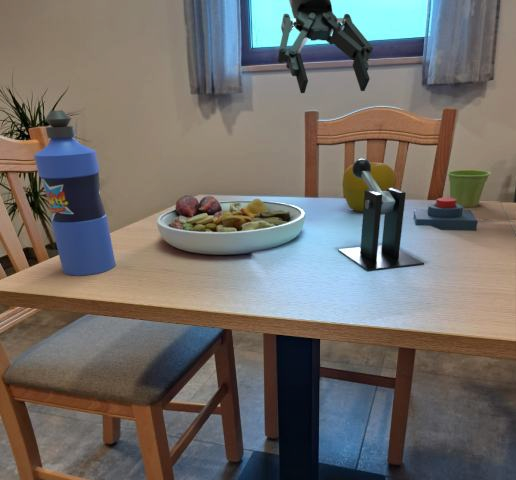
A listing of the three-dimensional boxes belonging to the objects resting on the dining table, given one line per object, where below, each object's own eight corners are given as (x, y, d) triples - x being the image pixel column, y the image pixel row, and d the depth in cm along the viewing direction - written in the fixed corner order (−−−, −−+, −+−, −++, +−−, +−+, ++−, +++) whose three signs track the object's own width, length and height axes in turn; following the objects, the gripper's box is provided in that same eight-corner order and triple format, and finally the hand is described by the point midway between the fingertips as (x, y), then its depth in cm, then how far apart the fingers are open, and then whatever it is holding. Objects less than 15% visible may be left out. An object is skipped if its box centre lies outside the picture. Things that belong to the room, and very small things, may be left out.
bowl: (329, 230, 100) (330, 192, 96) (251, 269, 78) (249, 223, 74) (219, 217, 115) (217, 184, 111) (128, 247, 93) (122, 207, 89)
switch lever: (347, 172, 82) (351, 155, 80) (364, 171, 83) (369, 154, 80) (375, 217, 75) (380, 200, 72) (393, 215, 75) (399, 198, 73)
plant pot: (467, 215, 107) (474, 176, 103) (434, 209, 115) (439, 172, 110) (491, 210, 112) (499, 172, 108) (457, 204, 119) (463, 168, 115)
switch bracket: (337, 255, 84) (340, 187, 78) (388, 250, 85) (394, 183, 80) (366, 276, 73) (372, 200, 68) (423, 270, 75) (434, 195, 70)
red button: (454, 206, 101) (455, 197, 100) (456, 209, 97) (457, 201, 96) (434, 205, 101) (435, 197, 101) (436, 209, 98) (437, 201, 97)
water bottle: (83, 279, 77) (46, 111, 65) (51, 270, 82) (11, 112, 70) (127, 264, 83) (100, 109, 72) (94, 256, 88) (64, 110, 77)
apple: (348, 203, 125) (351, 158, 119) (397, 206, 119) (402, 159, 114) (334, 213, 114) (336, 164, 109) (386, 216, 109) (391, 165, 104)
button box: (468, 220, 104) (472, 201, 102) (475, 231, 95) (479, 211, 93) (413, 218, 107) (415, 201, 105) (415, 229, 98) (417, 210, 96)
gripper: (357, 18, 98) (385, 100, 92) (249, 19, 93) (270, 104, 87) (371, -19, 91) (401, 67, 85) (253, -20, 86) (277, 70, 80)
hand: (335, 86), depth 86 cm, fingers open, 11 cm apart
